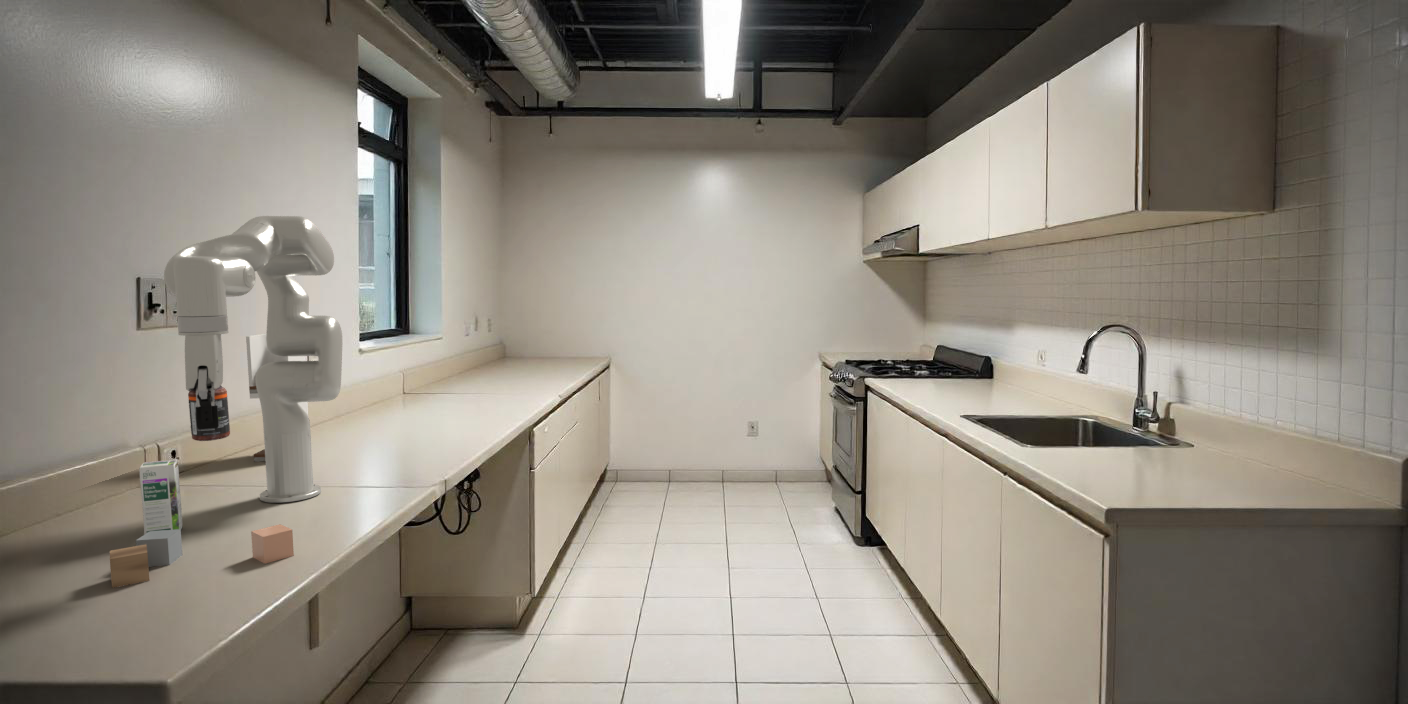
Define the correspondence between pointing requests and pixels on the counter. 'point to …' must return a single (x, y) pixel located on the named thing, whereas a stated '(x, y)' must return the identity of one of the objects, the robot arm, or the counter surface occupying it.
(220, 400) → the supplement bottle
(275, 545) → the terracotta block
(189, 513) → the counter surface
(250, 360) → the display case
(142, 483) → the syrup box
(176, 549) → the slate grey block
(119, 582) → the walnut block
